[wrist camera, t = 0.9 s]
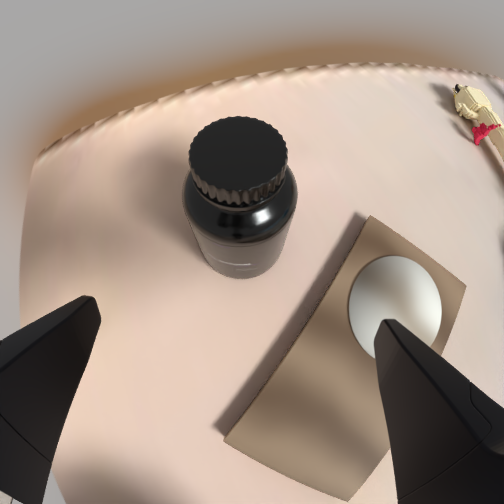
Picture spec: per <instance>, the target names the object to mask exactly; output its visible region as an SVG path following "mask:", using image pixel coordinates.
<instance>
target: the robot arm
mask: <svg viewBox="0 0 504 504" xmlns="http://www.w3.org/2000/svg"><path fill="white" fill-rule="evenodd" d="M100 324H101V315H100V312H99V309H98V306H97V302H96V300H95V298H94V297H92V296H86V295H83V296H81V297H79V298H77V299H75V300H73V301H71V302H69V303H67V304H65V305H64V306H62V307H60V308H58V309H56V310H54V311H52V312H51V313H49V314H47V315H45V316H43V317H41V318H40V319H38V320H36V321H34V322H32V323H31V324H29V325H27V326H25V327H23V328H22V329H20V330H18V331H16V332H15V333H13V334H11V335H9V336H8V337H6V338H4V339H3V340H0V504H12V501H13V498H14V499H15V500H17V501H19V502H21V503H23V504H42V502H43V497H44V493H45V489H46V485H47V481H48V477H49V473H50V469H51V466H52V462H53V458H54V455H55V451H56V448H57V445H58V442H59V438H60V435H61V432H62V429H63V426H64V423H65V420H66V418H67V415H68V412H69V409H70V406H71V404H72V401H73V398H74V396H75V393H76V390H77V388H78V385H79V383H80V380H81V378H82V375H83V373H84V371H85V368H86V366H87V363H88V360H89V358H90V355H91V351H92V348H93V345H94V342H95V339H96V336H97V333H98V330H99V327H100ZM374 352H375V360H376V368H377V377H378V385H379V390H380V395H381V400H382V405H383V410H384V414H385V420H386V425H387V430H388V436H389V442H390V448H391V454H392V460H393V467H394V474H395V482H396V490H397V499H398V504H504V408H503V407H501V406H500V405H499V404H497V403H496V402H495V401H493V400H492V399H491V398H490V397H488V396H487V395H486V394H485V393H484V392H482V391H481V390H480V389H479V388H478V387H477V386H475V385H474V384H473V383H472V382H470V381H469V380H468V379H467V378H466V377H465V376H464V375H463V374H461V373H460V372H459V371H458V370H457V369H456V368H454V367H453V366H452V365H451V364H450V363H448V362H447V361H446V360H445V359H444V358H442V357H441V356H440V355H439V354H438V353H436V352H435V351H434V350H433V349H432V348H430V347H429V346H428V345H427V344H426V343H424V342H423V341H422V340H421V339H419V338H418V337H417V336H416V335H415V334H413V333H412V332H411V331H410V330H408V329H407V328H406V327H405V326H403V325H402V324H401V323H400V322H398V321H397V320H396V319H383V320H382V321H381V323H380V325H379V328H378V330H377V333H376V335H375V338H374Z"/></svg>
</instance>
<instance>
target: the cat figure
mask: <svg viewBox="0 0 504 504" xmlns="http://www.w3.org/2000/svg"><path fill="white" fill-rule="evenodd" d="M452 89H453V91H454V92H453V93H454V98H455V104H456V106H455V107H456V109H457V110H456V111H457V112H459V111H460V113H459V115H460V116H462V115H463V117H465V118H467V119H474V120H478V122H479V124H480V127H473V129H472V132H473V133H474V138H475V139H474V142H475V144H476V145H479V143H480V140H482V139H483V138H484V137H485V136H487V135H488V136H489V138H490V140H491V141H492V143H493V145H495V146H496V148H497V149H498V151H499V153H500V155H501V157H502V159H503V161H504V125H503V123H502V122H501V120H500V118H499V117H498V115H497V114H496V113H494V112H493V110H492V109H491V104H490V102H489V101H488V99H487V98H486V96H485V95H484V93H483V92H482V91H481V90H479V89H475V88H471V87H469V86H464V87H463V86H462V85H459V84H457V85H456V86H455V88H452ZM455 91H457V93H456V92H455Z"/></svg>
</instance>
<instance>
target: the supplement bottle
mask: <svg viewBox="0 0 504 504" xmlns="http://www.w3.org/2000/svg"><path fill="white" fill-rule="evenodd" d="M287 154H288V149H287V148H286V142H285V141H284V140H283V137H282V135H281V134H279V133H278V130H277V129H274V128H273V127H272V126H271V125H270V124H267V123H265V122H264V121H261V120H258V119H256V118H250V117H247V116H246V117H241V116H236V117H227V118H225V119H219V120H218V121H215V122H212V123H211V124H210V125H208V126H205V127H204V129H203V130H201V131H199V132H198V135H197V136H195V137H194V139H193V142H192V143H191V145H190V150H189V165H190V170H189V171H188V173H187V175H186V178H185V180H184V184H183V189H182V202H183V207H184V210H185V213H186V216H187V219H188V221H189V223H190V226H191V228H192V230H193V233H194V235H195V237H196V240H197V242H198V244H199V246H200V249H201V251H202V253H203V255H204V257H205V259H206V260H207V262H208V263H209V264H210V266H211V267H212V268H213V269H215V270H216V271H217V272H219V273H220V274H222V275H225V276H227V277H230V278H235V279H248V278H253V277H256V276H259V275H261V274H263V273H264V272H266V271H267V270H269V269H270V268H271V267H272V266H273V265H274V264H275V262H276V261H277V259H278V258H279V256H280V254H281V251H282V249H283V246H284V243H285V240H286V237H287V233H288V230H289V227H290V224H291V221H292V218H293V215H294V212H295V208H296V204H297V196H298V191H297V184H296V180H295V177H294V175H293V173H292V171H291V169H290V168H289V166H288V165H287V161H288V157H287Z"/></svg>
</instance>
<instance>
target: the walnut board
mask: <svg viewBox="0 0 504 504" xmlns="http://www.w3.org/2000/svg"><path fill="white" fill-rule="evenodd" d="M465 289H466V285H465V284H464V283H463V282H461V281H460V280H459V279H458V278H457V277H455V276H454V275H453V274H452V273H450V272H449V271H448V270H446V269H445V268H444V267H443V266H441V265H440V264H439V263H437V262H436V261H435V260H433V259H432V258H431V257H429V256H428V255H427V254H425V253H424V252H423V251H421V250H420V249H419V248H417V247H416V246H415V245H413V244H412V243H410V242H409V241H408V240H406V239H405V238H403V237H402V236H401V235H399V234H398V233H396V232H395V231H393V230H392V229H390V228H389V227H388V226H386V225H385V224H383V223H382V222H380V221H379V220H377V219H376V218H374V217H373V216H371V215H370V216H369V218H368V219H367V220H366V222H365V224H364V225H363V227H362V229H361V231H360V233H359V235H358V237H357V239H356V240H355V242H354V244H353V246H352V248H351V249H350V251H349V253H348V255H347V257H346V258H345V260H344V262H343V264H342V265H341V267H340V269H339V271H338V272H337V274H336V276H335V277H334V279H333V281H332V283H331V284H330V286H329V288H328V289H327V291H326V293H325V294H324V296H323V297H322V299H321V301H320V302H319V304H318V306H317V307H316V309H315V310H314V312H313V314H312V315H311V317H310V318H309V320H308V322H307V323H306V325H305V326H304V328H303V329H302V331H301V332H300V334H299V335H298V337H297V338H296V340H295V341H294V343H293V344H292V346H291V347H290V349H289V350H288V352H287V353H286V355H285V356H284V358H283V359H282V361H281V362H280V364H279V365H278V366H277V368H276V369H275V371H274V372H273V374H272V375H271V376H270V378H269V379H268V381H267V382H266V383H265V385H264V386H263V388H262V389H261V390H260V392H259V393H258V394H257V396H256V397H255V398H254V400H253V401H252V402H251V404H250V405H249V406H248V408H247V409H246V410H245V412H244V413H243V414H242V416H241V417H240V418H239V420H238V421H237V422H236V423H235V425H234V426H233V427H232V428H231V430H230V431H229V432H228V433H227V435H226V436H225V437H224V440H223V442H225V443H227V444H228V445H230V446H232V447H233V448H235V449H237V450H238V451H240V452H242V453H243V454H245V455H247V456H249V457H250V458H252V459H254V460H256V461H258V462H259V463H261V464H263V465H265V466H267V467H269V468H271V469H273V470H275V471H277V472H279V473H281V474H283V475H285V476H287V477H289V478H291V479H293V480H295V481H297V482H300V483H302V484H304V485H306V486H309V487H311V488H313V489H316V490H318V491H320V492H323V493H325V494H328V495H330V496H333V497H336V498H338V499H341V500H344V501H347V502H348V501H349V500H350V499H351V498H352V496H353V495H354V494H355V493H356V492H357V491H358V489H359V488H360V487H361V486H362V485H363V483H364V482H365V481H366V480H367V478H368V477H369V476H370V475H371V473H372V472H373V471H374V469H375V468H376V467H377V465H378V464H379V463H380V461H381V460H382V458H383V457H384V456H385V454H386V453H387V451H388V450H389V448H390V442H389V436H388V430H387V425H386V420H385V414H384V410H383V405H382V400H381V395H380V390H379V385H378V377H377V368H376V360H375V352H374V338H375V335H376V333H377V330H378V328H379V325H380V323H381V321H382V320H383V319H396V320H397V321H398V322H400V323H401V324H402V325H403V326H405V327H406V328H407V329H408V330H410V331H411V332H412V333H413V334H415V335H416V336H417V337H418V338H419V339H421V340H422V341H423V342H424V343H426V344H427V345H428V346H429V347H430V348H432V349H433V350H434V351H435V352H436V353H438V354H439V355H440V356H441V354H442V352H443V350H444V348H445V345H446V343H447V340H448V338H449V335H450V333H451V330H452V328H453V325H454V322H455V319H456V317H457V314H458V311H459V308H460V305H461V302H462V299H463V296H464V293H465Z"/></svg>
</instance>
